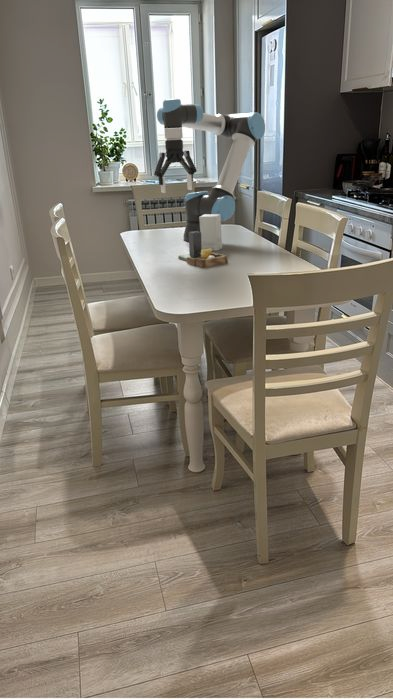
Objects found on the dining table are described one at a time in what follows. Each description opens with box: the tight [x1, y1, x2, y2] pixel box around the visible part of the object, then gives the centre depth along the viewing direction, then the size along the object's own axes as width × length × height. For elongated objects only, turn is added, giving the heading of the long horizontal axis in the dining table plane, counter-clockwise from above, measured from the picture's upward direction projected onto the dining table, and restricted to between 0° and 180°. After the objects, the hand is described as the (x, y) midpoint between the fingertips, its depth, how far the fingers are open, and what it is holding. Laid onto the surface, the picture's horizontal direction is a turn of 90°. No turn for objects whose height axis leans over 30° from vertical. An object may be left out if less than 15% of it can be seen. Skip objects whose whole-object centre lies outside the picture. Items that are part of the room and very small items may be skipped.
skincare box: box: [199, 214, 223, 252], centre depth 237 cm, size 8×7×16 cm
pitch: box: [177, 252, 229, 269], centre depth 219 cm, size 13×21×3 cm, turn 33°
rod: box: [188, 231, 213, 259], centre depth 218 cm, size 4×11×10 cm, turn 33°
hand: (176, 191), depth 229 cm, fingers open, 13 cm apart
